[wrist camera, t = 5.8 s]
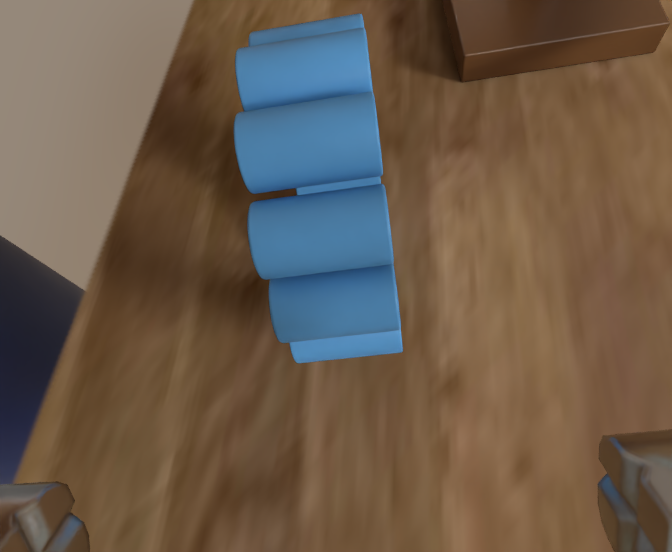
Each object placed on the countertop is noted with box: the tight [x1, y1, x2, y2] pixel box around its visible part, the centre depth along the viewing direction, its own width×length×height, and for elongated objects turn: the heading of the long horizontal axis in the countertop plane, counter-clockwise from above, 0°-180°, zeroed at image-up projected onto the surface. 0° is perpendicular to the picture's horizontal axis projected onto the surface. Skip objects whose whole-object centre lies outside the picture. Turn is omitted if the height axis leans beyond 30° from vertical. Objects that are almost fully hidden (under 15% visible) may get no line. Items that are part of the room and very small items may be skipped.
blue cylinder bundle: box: [234, 14, 403, 363], centre depth 15 cm, size 9×3×9 cm, turn 4°
